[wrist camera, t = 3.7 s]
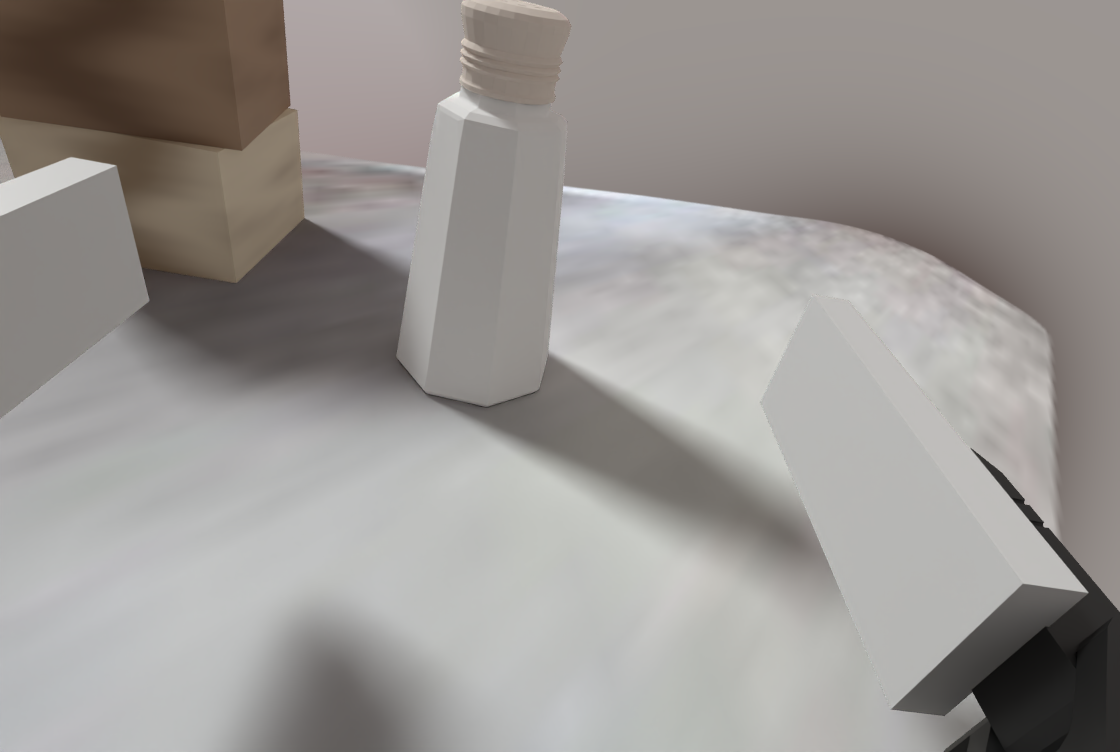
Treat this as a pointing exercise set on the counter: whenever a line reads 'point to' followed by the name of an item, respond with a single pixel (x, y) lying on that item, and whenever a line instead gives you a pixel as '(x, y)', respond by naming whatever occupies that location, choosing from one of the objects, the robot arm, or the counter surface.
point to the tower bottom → (185, 191)
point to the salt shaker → (490, 213)
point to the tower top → (146, 67)
